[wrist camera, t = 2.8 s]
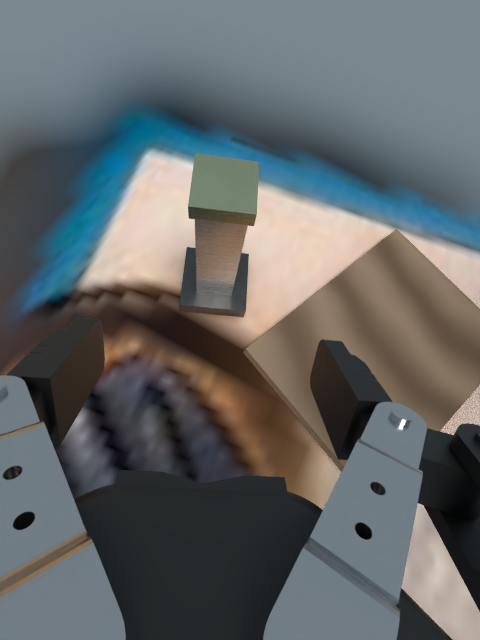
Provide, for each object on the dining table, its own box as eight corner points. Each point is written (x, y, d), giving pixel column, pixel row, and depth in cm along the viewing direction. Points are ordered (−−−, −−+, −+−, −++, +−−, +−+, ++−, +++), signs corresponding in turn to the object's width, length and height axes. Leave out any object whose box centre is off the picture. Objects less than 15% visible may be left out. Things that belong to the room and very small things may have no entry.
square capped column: (187, 255, 30) (179, 137, 18) (246, 262, 31) (276, 150, 19) (180, 311, 29) (166, 220, 16) (243, 316, 29) (274, 232, 17)
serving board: (388, 237, 34) (396, 228, 32) (500, 347, 31) (515, 342, 30) (243, 352, 28) (245, 348, 26) (366, 500, 25) (376, 505, 24)
